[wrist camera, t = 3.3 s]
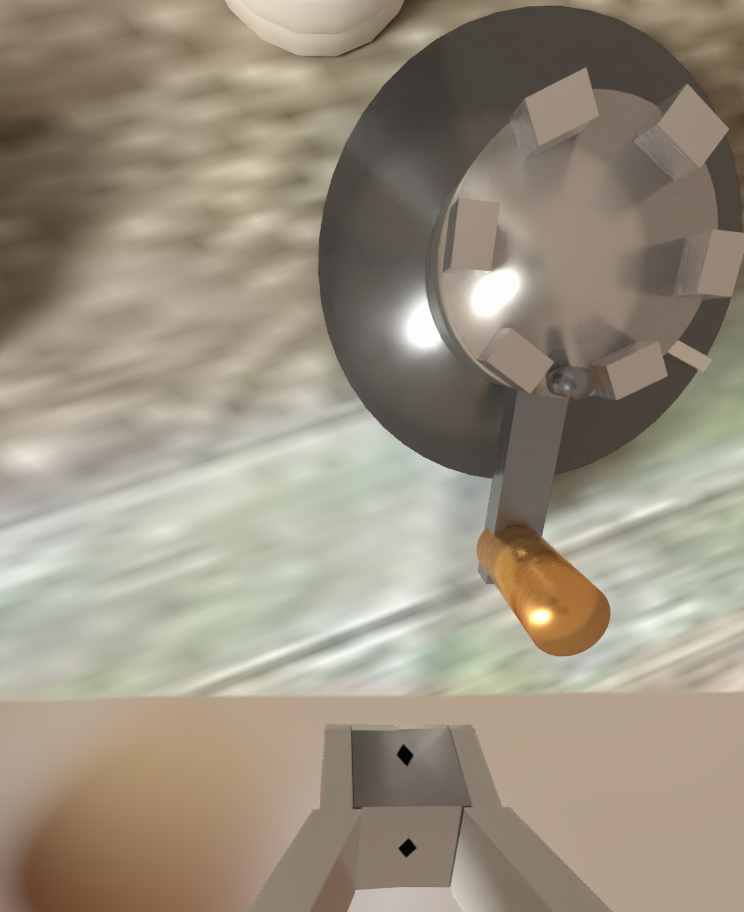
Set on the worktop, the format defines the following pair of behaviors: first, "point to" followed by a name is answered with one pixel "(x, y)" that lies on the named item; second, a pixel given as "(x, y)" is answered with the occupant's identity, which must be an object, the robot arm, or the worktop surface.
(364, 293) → the flange
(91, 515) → the worktop surface
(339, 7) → the bottle
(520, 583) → the crank handle dial
